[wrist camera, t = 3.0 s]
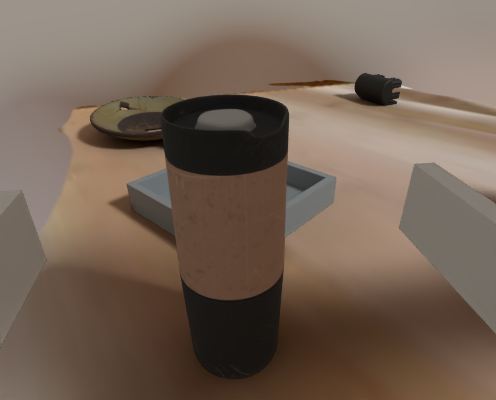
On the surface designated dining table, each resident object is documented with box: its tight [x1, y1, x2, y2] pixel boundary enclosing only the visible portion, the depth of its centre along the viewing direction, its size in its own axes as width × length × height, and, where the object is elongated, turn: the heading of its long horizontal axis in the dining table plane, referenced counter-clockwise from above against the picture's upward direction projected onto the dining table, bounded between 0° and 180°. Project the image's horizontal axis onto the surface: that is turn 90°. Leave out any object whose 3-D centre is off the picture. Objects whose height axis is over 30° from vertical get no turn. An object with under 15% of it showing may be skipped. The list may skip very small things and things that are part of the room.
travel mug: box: [161, 95, 289, 379], centre depth 26 cm, size 8×8×20 cm
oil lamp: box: [90, 96, 184, 141], centre depth 74 cm, size 22×30×8 cm
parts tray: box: [127, 161, 336, 237], centre depth 49 cm, size 20×20×4 cm
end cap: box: [355, 73, 402, 106], centre depth 96 cm, size 10×7×7 cm
